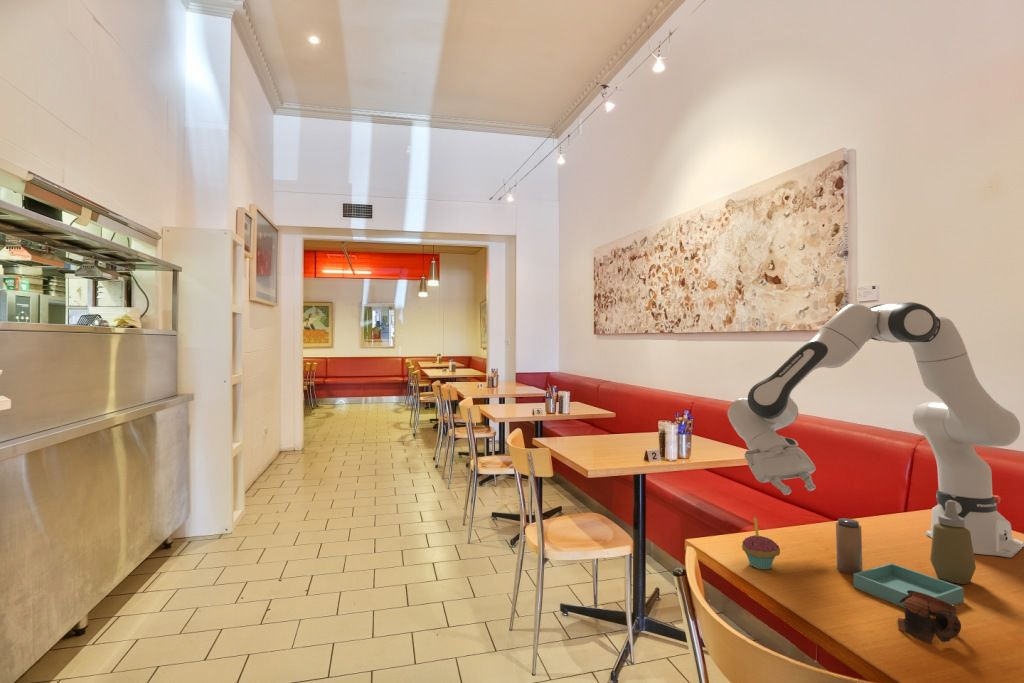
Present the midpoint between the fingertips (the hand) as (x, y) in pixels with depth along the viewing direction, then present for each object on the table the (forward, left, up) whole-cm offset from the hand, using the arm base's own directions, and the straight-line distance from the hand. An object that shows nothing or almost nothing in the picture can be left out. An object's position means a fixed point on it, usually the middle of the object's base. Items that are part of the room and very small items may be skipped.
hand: (800, 491), depth 134 cm
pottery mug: (+15, +37, -16) cm, 43 cm away
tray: (+1, +25, -16) cm, 30 cm away
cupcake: (+17, +1, -16) cm, 24 cm away
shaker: (0, +12, -16) cm, 20 cm away
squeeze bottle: (-17, +25, -16) cm, 35 cm away
